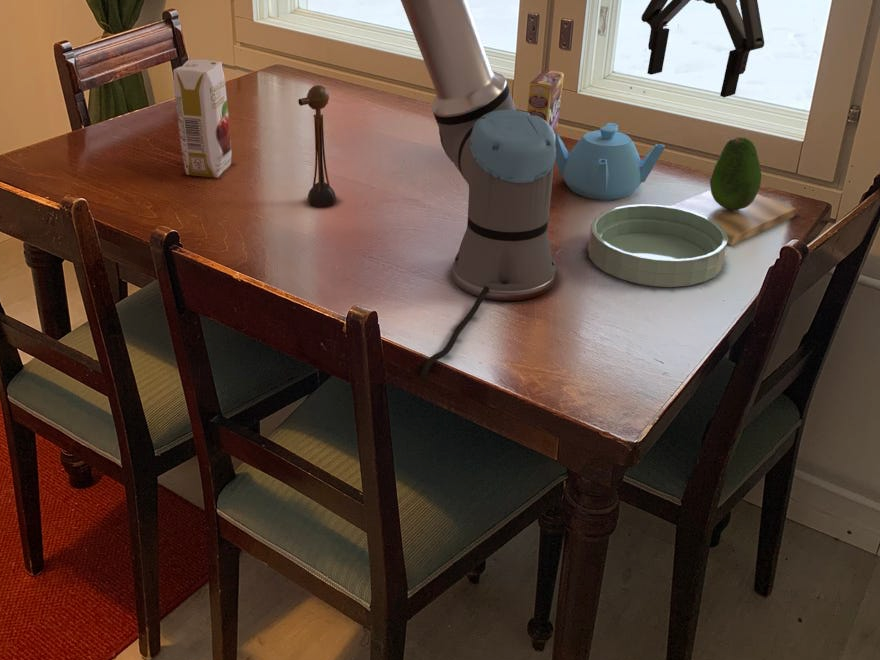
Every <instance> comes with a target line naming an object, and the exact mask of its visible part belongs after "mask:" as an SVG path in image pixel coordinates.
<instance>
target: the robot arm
mask: <svg viewBox="0 0 880 660" xmlns="http://www.w3.org/2000/svg"><path fill="white" fill-rule="evenodd" d="M668 1H669V0H650V1H649V3H648V5H647V6H646V7H645V10H644V11H643V13H642V15H641V17H640V18H641V22H642V23H646V24H648V25H649V27H650V33H649V37H648V38H649V39H648V45H647V46H648V50H649V51H650V55H649V61H648V66H647V72H646V73H647V75H650V76H651V75H652V76H653V75H656V74H660V73H663V68H664V63H665V57H666V51H667V46H668V40H669V35H670V28H667V27H668V26H669V25H668V24H669V22H670V21H672V20H673V19H674V18H675V17H676V16H677V15H678V14H679V13H680V12H681V11H682V10H683V9H684V8H685V7H686V6H687V5H688V4H689V3H690V2H691V1H692V0H670V2H669V3H668V4H667V2H668ZM696 1H697V2H699V1H701V0H696ZM702 1H703V2H704V3H706V4H710V5H712V4H714V6H715V8H716V9H717V10H719V12H720V14H721V17H722V20H723V23H724V24H725V27H726V29H727V32H728V35H729V37H730V39H731V41H732V44H733V46H734V49H732V50H729V53H728V57H727V61H726V65H725V72H724V76H723V80H722V84H721V90H720V94H719V97H722V98H728V97H730V96H734V95H736V92H737V88H738V83H739V78H740V75H743V74H744V73H745V72H746V68H747V63H748V60H749V55H750V53H751V51H755V50H759V49H762V48H764V46H765V39H764V31H763V26H762V21H761V14H760V9H759V8H760V7H759V2H758V0H702ZM738 1H739V7H740V10H739V7H738V4H737V3H738ZM400 2H401V5H402V7H403V10H404V12H405V15H406V18H407V21H408V23H409V25H410V28H411V30H412V34H413V36H414V39H415V41H416V44H417V46H418V49H419V51H420V54H421V56H422V59H423V62H424V64H425V68H426V69H427V72H428V75H429V78H430V80H431V82H432V85H433V87H434V90H435V94H436V95H435V97H434V99H433V101H432V103H431V111H432V113H433V117H434V119H435V122H436V124H437V126H438V134H439V139H440V145H441V147H442V149H443V152H444V153H445V155H446V156H447V158H448V159H449V160H450V161H451V162H452V163H453V164H454V166H455V167H456V169H457V170H458V172H459V173H460V174H461V176H462V178H463V179H464V181H465V182H466V183H467V185H468V199H467V201H468V202H467V204H468V205H467V224H466V229H465V232H464V235H463V237H462V240H461V242H460V245H459V248H458V252H457V253H456V255H455V257H454V261H453V264H452V279H453V281H454V283H455V284H456V285H457V286H458V287H459V288H460V289H462V290H463V291H465V292H466V293H468V294H471V295H474V296H476V297H477V298H476V299H475V301H474V303H473V305H472V307H471V308H470V310H469V311H468V313H466V315H465V316H464V318H463V319H462V320H461V321H460V322H459V324H458V325H457V326H456V327H455V329H454V330H453V332H452V334H451V336H450V338H449V341H448V342H447V344H446V345H445V347H444V348H443V349H442V350H440V351H438V352H436V353H435V354H433V355H432V356H430V357H429V358H428V359H427V361H426V362H424V365H423V367H422V369H421V372H420V377H421V378H426V377H427V376H428V373H429V371H430V369H431V368H432V365H433V364H434V363H435V362H436V361H438V360H440V359H442V358H444V357H445V356H446V355H448V354H449V352H450V351H451V350H452V349H453V348H454V345H455V344H456V342H457V339H458V338H459V335H460V334H461V332H462V331H463V330H464V328H465V327H466V326H467V324H468V323H470V321H471V320H472V318H473V317H474V316H475V314H476V313H477V312H478V310H479V308H480V306H481V305H482V303H483V301H484V299H485V300H486V299H488V300H492V301H503V302H513V301H524V300H530V299H534V298H537V297H540V296H542V295H544V294H545V293H547V292H549V291H550V290H551V289H552V288H553V286H554V285H555V282H556V273H557V268H556V262H555V259H554V258H553V254H552V248H551V243H550V242H551V241H550V238H549V233H548V226H549V217H550V209H551V199H552V188H553V179H554V169H555V163H556V147H555V134H554V131H553V129H552V127H551V126H550V125H549V124H548V123H547V122H546V121H545V120H543V119H542V118H540V117H538V116H536V115H535V116H531V115H530V113H527V111H524V110H519V109H518V110H517V108H516V105H515V103H514V100H513V96H512V94H511V91H510V88H509V84H508V82H507V79H506V77H505V76H504V75H503V74H502V73H499V72H497V71H493V70H492V68H491V65H490V62H489V59H488V56H487V53H486V50H485V47H484V45H483V41H482V38H481V36H480V32H479V30H478V27H477V24H476V21H475V17H474V16H473V13H472V10H471V7H470V4H469V0H400ZM666 4H667V5H666Z"/></svg>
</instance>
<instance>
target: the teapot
mask: <svg viewBox="0 0 880 660" xmlns="http://www.w3.org/2000/svg"><path fill="white" fill-rule="evenodd" d="M618 127H619V123H617V122H616V123H615V122H607V123H606V125H603V126H601V127H599V129H596V130H591V131H588V132H586V133H585V134H584V135H583V136H581V137H580V138H579V140H578V141H577V142H576V143H575V145H574V146H573V148H572V149H571V150H570V152H569V151H568V149H567V147H566V146H565V144H564V142H563V140H562V138H561V135H560V134H557V135H555V147H556V159H555V163H556V166H557V169H558V172H559V174H561V175H562V178H563V180H564V181H563V182H564V183H565V184H566V186H567V187H568V188H569V189H570V190H571V191H572V192H573V193H575V194H576V195H578V196H581V197H583V198H587V199H592V200H603V201H609V200H610V201H612V200H619V199H623V198H626V197H629V196H630V195H631V194H632V193H634V192H635V191H636V190H637V189H639V187H640V186H641V184H642V183H645V182H646V180H647V179H648V177H649V175H650V173H651V172H652V170H653V168H654V167H655V165H656V163H657V162H658V160H659V159H660V157H661V155H662V154H663V152H664V151H665V148H666V147H665V146H666V145H665V144H660V143H655V145H653V147H652V149H651V150H650V151H649V152H648V154H646V156H645V157H644V158H643V159H641V157H640V153H639V152H638V150H637V147H636V146H635V143H634V142H633V140H632V138H631V137H630V135H627V134H626V133H623V132H620V131H618V130H619V128H618Z"/></svg>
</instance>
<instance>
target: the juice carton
mask: <svg viewBox="0 0 880 660" xmlns="http://www.w3.org/2000/svg"><path fill="white" fill-rule="evenodd" d="M225 78H226V77H225V73H224V69H223V63H222V61H220V60H212V59H211V60H210V59H199V58H197V59H196V58H188V59H187V61H185V62H184V63H183V65H182V66H178V67H176V68H174V69H173V91H174V98H175V100H174V101H175V108H176V116H177V125H178V131H179V141H180V148H181V155H182V156H181V157H182V162H183V167H184V170H185V174H186V175H187V176H195V177H204V178H213V179H217V178H219V177H220V176H221V175H222V174H223V172H224V171H226V170H227V169H228V168H229V167H230V166H231V165H232V156H233V155H232V153H233V152H232V139H231V129H230V119H229V118H230V117H229V110H228V109H229V108H228V98H227V97H228V96H227V87H226V79H225Z"/></svg>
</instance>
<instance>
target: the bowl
mask: <svg viewBox="0 0 880 660" xmlns="http://www.w3.org/2000/svg"><path fill="white" fill-rule="evenodd" d="M670 206H671V205H663V204H648V203H647V204H645V203H641V204H639V203H638V204H627V205H622V206H617V207H612V208H609V209H607V210H604V211H602V212H600V213H599V214H598V215H597V216H595V217H594V218H593V220H592V222H591V224H590V230H589V239H588V244H587V245H588V246H587V252H588V257H589V259H590V260H591V262H592V263H593V265H595V266H596V267H597V268H599V269H600V270H602V271H603V272H604V273H606V274H608V275H611V276H613V277H616V278H618V279H620V280H623V281H627V282H631V283H634V284H640V285H645V286H652V287H664V288H665V287H666V288H674V287H676V288H677V287H686V286H687V287H689V286H693V285H698V284H702V283H705V282H707V281H709V280H711V279H713V278H715V277H716V276H717V275H718V274H719V273H720V272H722V269H723V264H724V259H725V254H726V250H727V247H728V246H727V245H728V244H727V241H728V237H727V234H726V232H725V230H724V229H723V228H722V227H721V226H720V225H719V224H718V223H716V222H715V221H713V220H711V219H709V218H708V217H706V216H703V215H701V214H698V213H695V212H692V211H689V210H685V209H681V208H676V207H670Z"/></svg>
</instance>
